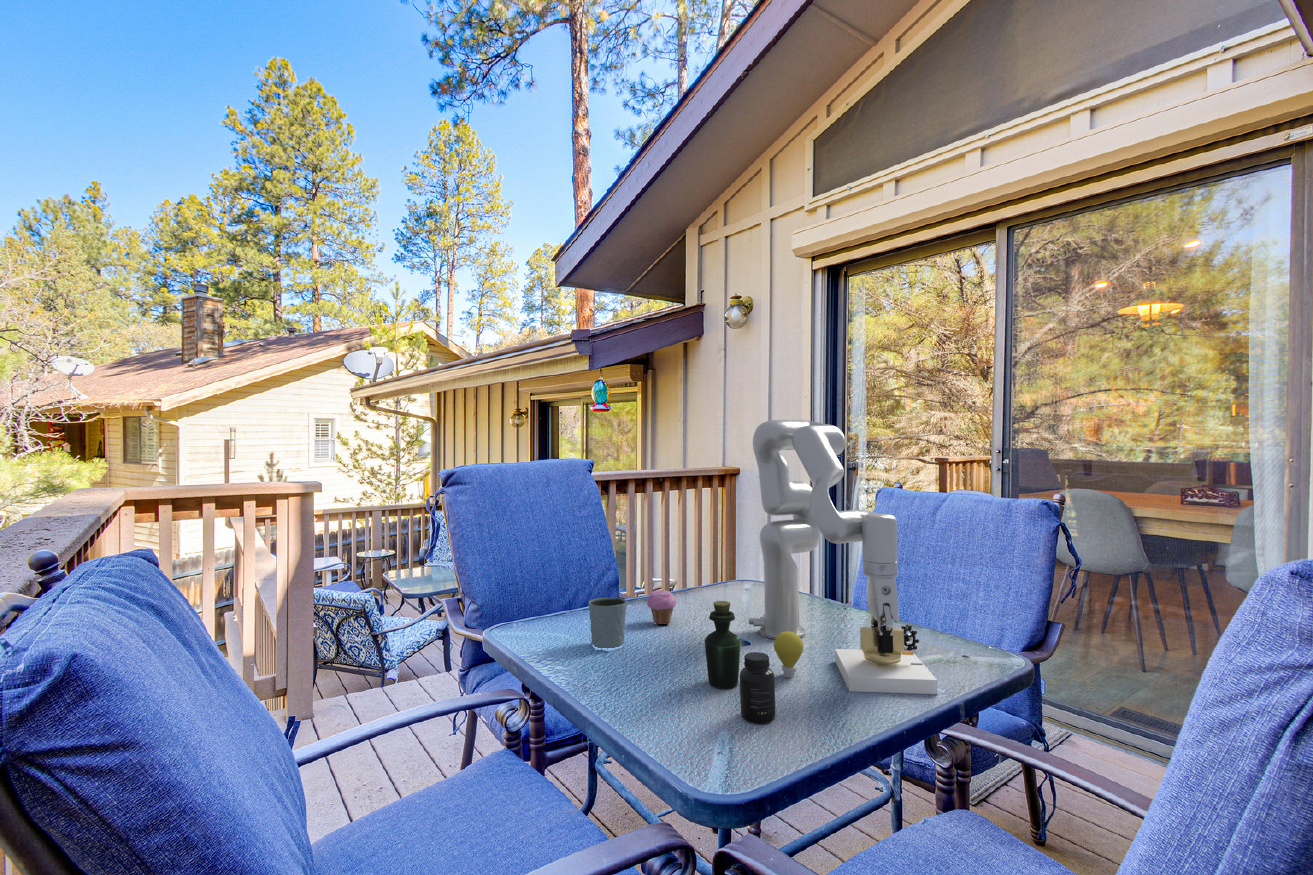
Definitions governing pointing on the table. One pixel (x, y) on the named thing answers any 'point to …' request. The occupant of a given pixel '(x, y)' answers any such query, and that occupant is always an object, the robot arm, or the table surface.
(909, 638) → the valve
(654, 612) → the cupcake
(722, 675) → the potion bottle
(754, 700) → the supplement bottle
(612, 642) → the grey cup
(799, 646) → the light bulb
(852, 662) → the base plate
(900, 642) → the knob
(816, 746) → the table surface
